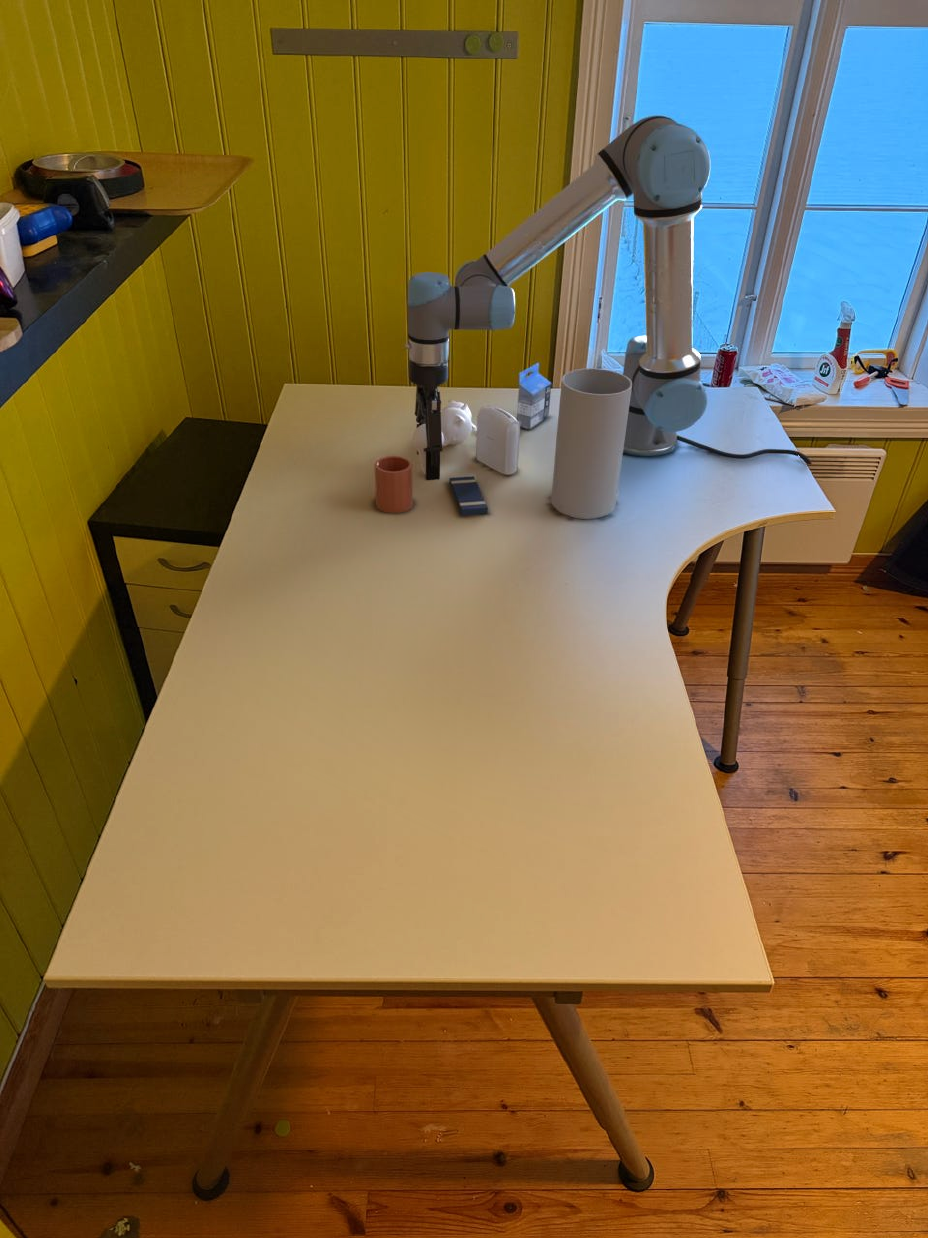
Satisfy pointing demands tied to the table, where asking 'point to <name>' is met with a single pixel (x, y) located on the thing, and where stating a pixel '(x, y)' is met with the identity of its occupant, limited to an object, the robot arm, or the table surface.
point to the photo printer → (497, 439)
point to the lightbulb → (421, 444)
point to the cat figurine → (456, 423)
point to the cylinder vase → (590, 442)
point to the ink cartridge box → (533, 398)
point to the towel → (468, 496)
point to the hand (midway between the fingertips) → (428, 466)
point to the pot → (394, 484)
